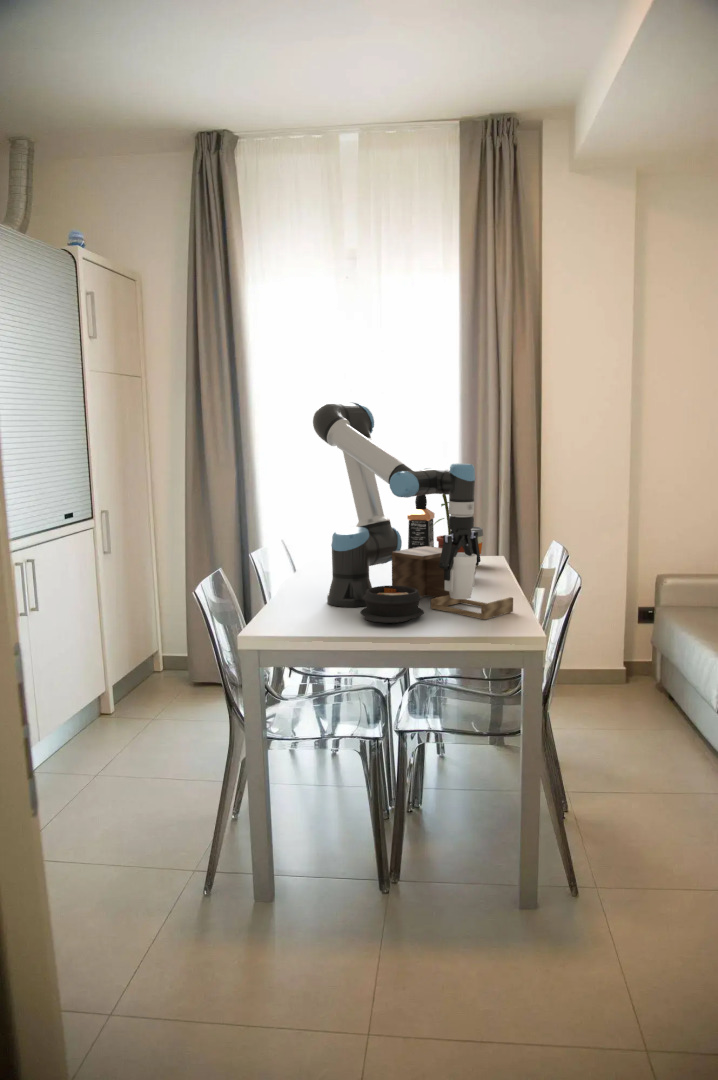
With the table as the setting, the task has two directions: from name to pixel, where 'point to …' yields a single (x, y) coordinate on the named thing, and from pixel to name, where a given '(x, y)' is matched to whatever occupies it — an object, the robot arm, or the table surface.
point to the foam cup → (463, 575)
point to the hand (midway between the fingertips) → (459, 588)
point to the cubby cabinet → (419, 570)
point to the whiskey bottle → (420, 525)
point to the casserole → (391, 604)
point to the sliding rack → (486, 608)
